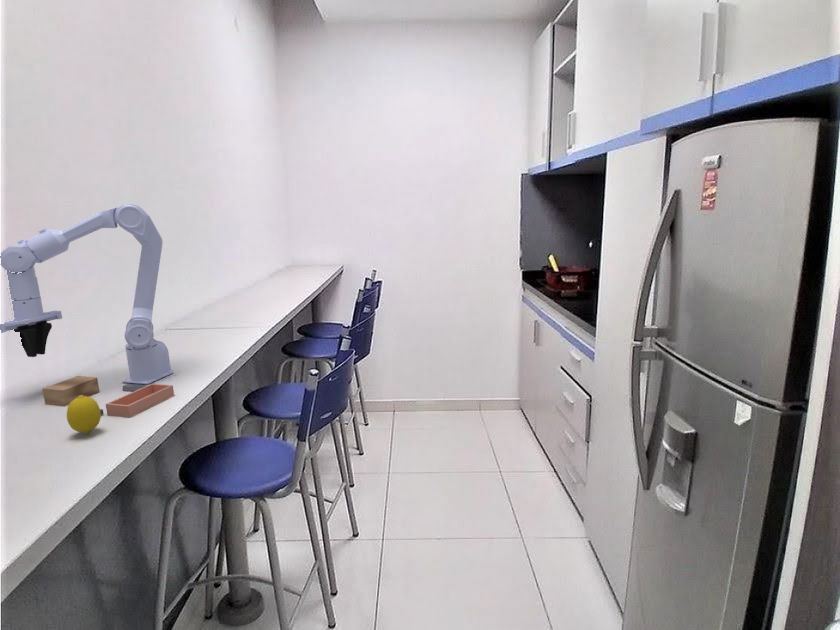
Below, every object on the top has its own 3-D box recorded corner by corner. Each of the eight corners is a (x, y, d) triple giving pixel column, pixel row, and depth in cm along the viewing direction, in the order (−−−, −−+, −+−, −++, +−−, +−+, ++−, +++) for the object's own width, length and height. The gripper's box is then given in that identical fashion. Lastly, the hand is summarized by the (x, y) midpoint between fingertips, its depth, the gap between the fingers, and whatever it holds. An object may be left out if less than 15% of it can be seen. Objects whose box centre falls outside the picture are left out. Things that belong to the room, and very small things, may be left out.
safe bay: (127, 388, 128) (127, 383, 128) (154, 391, 126) (153, 386, 126) (68, 414, 113) (67, 408, 113) (97, 417, 111) (96, 412, 111)
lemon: (97, 425, 107) (90, 388, 105) (108, 432, 104) (101, 394, 102) (66, 435, 103) (59, 396, 101) (76, 442, 99) (69, 403, 98)
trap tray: (153, 393, 125) (151, 383, 124) (174, 395, 123) (172, 385, 122) (107, 415, 112) (105, 404, 112) (129, 417, 111) (128, 406, 110)
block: (80, 391, 128) (77, 375, 127) (99, 393, 127) (97, 377, 126) (45, 405, 120) (42, 388, 119) (65, 407, 118) (62, 390, 117)
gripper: (42, 292, 129) (52, 346, 132) (-21, 304, 115) (-9, 363, 118) (64, 293, 127) (74, 347, 130) (2, 304, 113) (15, 365, 116)
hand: (36, 355), depth 124 cm, fingers closed
